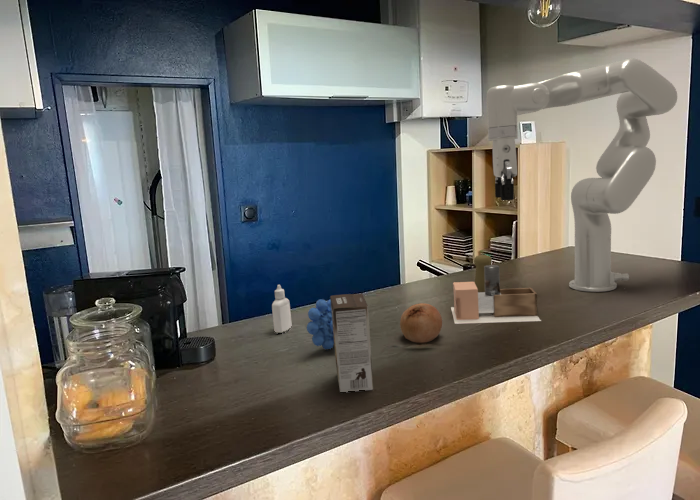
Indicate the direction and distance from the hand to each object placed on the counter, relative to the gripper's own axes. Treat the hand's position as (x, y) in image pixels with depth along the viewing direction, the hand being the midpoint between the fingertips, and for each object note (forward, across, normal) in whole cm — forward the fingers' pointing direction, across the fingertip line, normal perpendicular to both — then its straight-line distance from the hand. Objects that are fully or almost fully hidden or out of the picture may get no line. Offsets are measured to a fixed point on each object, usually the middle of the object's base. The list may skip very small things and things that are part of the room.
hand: (504, 198), depth 141 cm
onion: (+28, -32, +24) cm, 49 cm away
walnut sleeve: (+27, -16, +1) cm, 32 cm away
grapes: (+28, -36, +44) cm, 64 cm away
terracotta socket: (+27, -16, +12) cm, 34 cm away
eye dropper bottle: (+28, -21, +59) cm, 69 cm away
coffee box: (+28, -53, +37) cm, 71 cm away
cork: (+28, +10, +5) cm, 31 cm away
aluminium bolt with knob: (+26, -16, +9) cm, 32 cm away
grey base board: (+28, -16, +6) cm, 33 cm away
